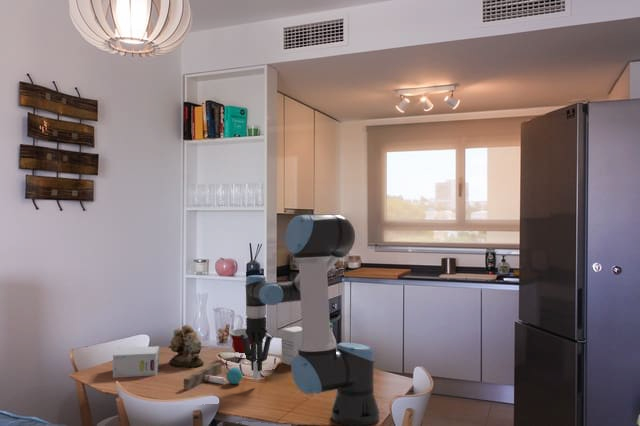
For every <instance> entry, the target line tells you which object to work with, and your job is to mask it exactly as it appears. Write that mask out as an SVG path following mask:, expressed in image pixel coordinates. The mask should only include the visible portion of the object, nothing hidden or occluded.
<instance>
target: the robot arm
mask: <svg viewBox="0 0 640 426" xmlns="http://www.w3.org/2000/svg"><path fill="white" fill-rule="evenodd" d="M288 223H289V224H288V225H287V227H286V231H285V239H284V240H285V246H286V247H287V251H288V252H289V253H291V254H293V259H294V261H295V262H296V263H297V264H298V269H299V270H298V271H299V273H298V274H297V276H295V278H294V279H293V280H291V281H280V282H279V281H278V282H267V279H266V276H265V275H260V274H253V275H248V276H247V277H246V278H245V310H246V311H245V316H246V318H245V323H246V324H245V326H246V328H245V329H246V332H245V333H244V334H242V335H240V338H241V339H242V341H243V346H244V350H245V355H246V358H245V359H246V361H250V362H251V364H250V366H251V368H250V369H251V371H252V373H253V375H252V377H253V381H256V382H257V381H259V380H261V371H263V362H265V361H267V359H268V355H269V350H270V347H271V343H272V340H273V339H274V336H273V335H270V334H269V333H268V330H267V317H266V315H267V306H277V305H278V304H282V303H289V302H290V303H291V302H292V303H293V302H300V308H301V309H300V310H301V312H300V314H301V327H302V336H303V343H302V344H301V345H300V346H299V348H298V355H297V356H296V357H294V358H293V360H292V361H293V362H292V364H291V365H290V367H291V368H290V369H291V374H292V379H293V381H294V384H295V385H296V387H297V388H298V389H299V390H300V392H301V393H303V394H306V395H313V394H317V395H319V394H321V393H324V392H329V391H333V390H336V395H335V398H334V401H333V405H332V407H331V419H332V421H334V422H335V423H338V424H340V425H344V426H369V425H373V424H375V423H377V422H378V421H379V420H380V408H379V406H378V402H377V400H376V396H375V393H374V391H375V390H374V386H375V385H374V383H375V382H374V379H375V378H374V364H375V363H374V362H375V360H374V351H373V349H372V347H370V346H368V345H366V344H362V343H361V344H360V343H354V342H339V343H336V345H337V347H336V346H335V345H334V344H333V343H332V342H331V338H330V323H331V321H330V303H329V288H328V287H329V282H328V272H329V271H330V270H331V269H332V268H333V266H334V265H335V264H336V263H337V262H338V260H340V259H343V258H344V257H345V258H346V256H347V255H348V254H349V252H350V251H351V250H352V249H353V246H354V244H355V240H356V231H355V228H354V226H353V225H352V223H351V222H350V220H349V219H347V218H346V217H344V216H342V215H339V214H302V215H295V216H294V217H293V218H291V220H290V221H289V222H288ZM248 337H249V339H250V345H249V341H248ZM264 339H265V341H264ZM263 343H264V344H263ZM336 348H337V350H336Z"/></svg>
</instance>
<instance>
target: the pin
mask: <svg viewBox="0 0 640 426" xmlns="http://www.w3.org/2000/svg"><path fill="white" fill-rule="evenodd" d="M204 381H205V382H206V383H207V382H208V383H215V384H220V385H225V384H226V381H227V378H226V377H222V376H218V375H216V376H212V375H205V376H204Z"/></svg>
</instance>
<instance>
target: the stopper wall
mask: <svg viewBox="0 0 640 426" xmlns="http://www.w3.org/2000/svg"><path fill="white" fill-rule="evenodd" d="M221 373H222V362H216V363H214V364H211V365H209V366H208V367H205V368H203V369H201V370H199V371H197V372H195V373H193V374H191V375H189V376H187V377H185V378H183V390H184V391H189V390H192V389H194V388H195V387H198V386H199V385H202V384H204V383H205V382H206V381H204V376H205V375H212V376H219V374H221Z"/></svg>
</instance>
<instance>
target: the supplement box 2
mask: <svg viewBox="0 0 640 426" xmlns="http://www.w3.org/2000/svg"><path fill="white" fill-rule="evenodd" d="M280 334H281V336H280V337H281V363H282V364H285V365H289V366H291V364H292V362H293V361H292V360H293V358H294V357H296V356H297V355H298V348H299V346H300V345H301V344H302V343H303V336H302V326H298V325H297V326H290V327H285V328H281V333H280Z"/></svg>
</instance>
